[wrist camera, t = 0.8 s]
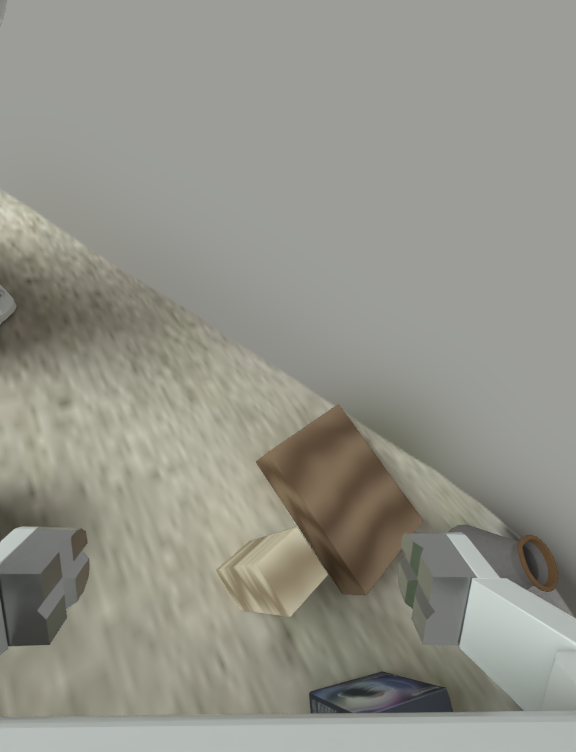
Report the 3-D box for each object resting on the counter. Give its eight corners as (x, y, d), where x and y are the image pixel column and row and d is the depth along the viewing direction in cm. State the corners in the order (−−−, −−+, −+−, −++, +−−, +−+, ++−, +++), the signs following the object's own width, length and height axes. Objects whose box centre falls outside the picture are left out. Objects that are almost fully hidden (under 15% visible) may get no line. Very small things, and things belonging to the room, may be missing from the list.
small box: (382, 666, 44) (449, 683, 36) (396, 738, 41) (472, 775, 33) (307, 688, 39) (363, 713, 31) (315, 770, 36) (380, 822, 28)
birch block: (215, 569, 41) (256, 563, 31) (249, 541, 44) (297, 526, 34) (240, 609, 40) (290, 616, 30) (272, 577, 43) (328, 574, 33)
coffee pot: (439, 512, 59) (525, 493, 47) (491, 556, 59) (589, 547, 48) (402, 655, 46) (509, 677, 34) (470, 710, 46) (599, 751, 34)
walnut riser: (255, 461, 49) (269, 450, 45) (321, 416, 58) (338, 403, 54) (342, 594, 46) (366, 594, 42) (399, 525, 54) (423, 520, 50)
